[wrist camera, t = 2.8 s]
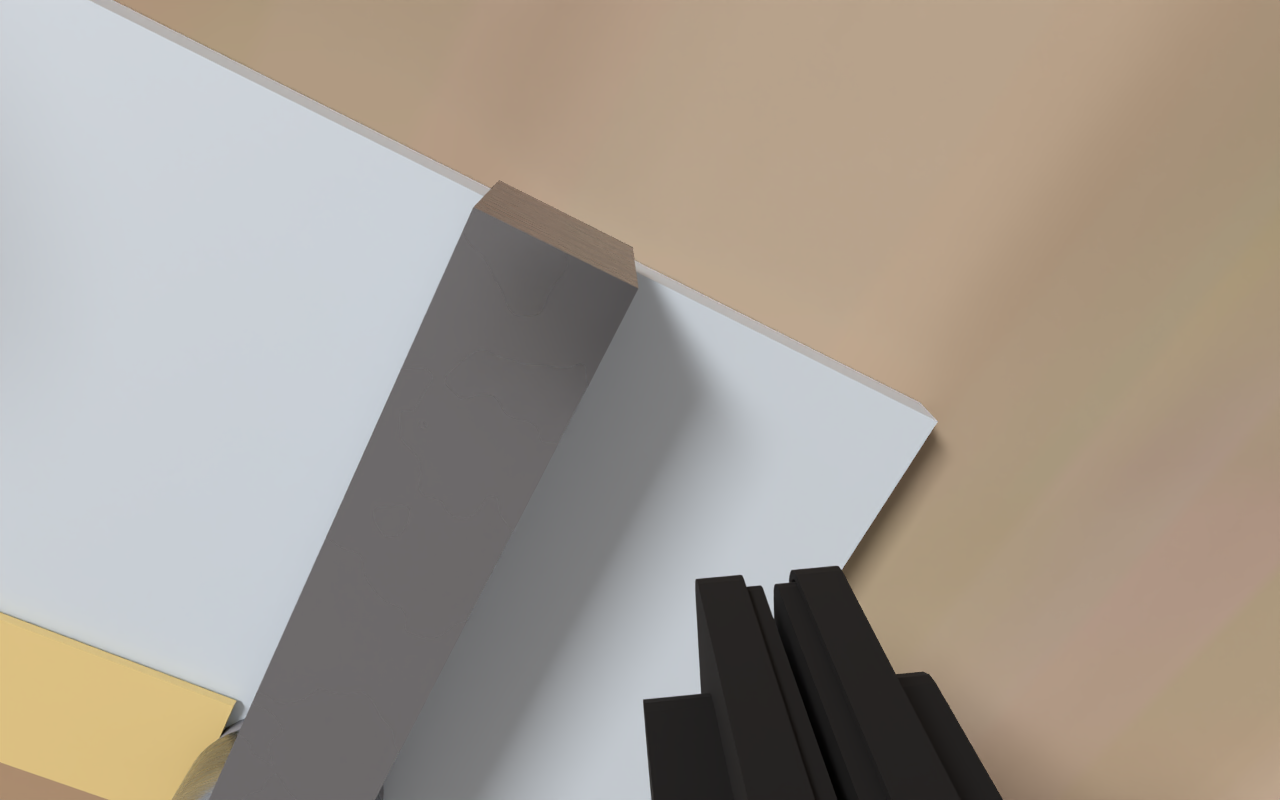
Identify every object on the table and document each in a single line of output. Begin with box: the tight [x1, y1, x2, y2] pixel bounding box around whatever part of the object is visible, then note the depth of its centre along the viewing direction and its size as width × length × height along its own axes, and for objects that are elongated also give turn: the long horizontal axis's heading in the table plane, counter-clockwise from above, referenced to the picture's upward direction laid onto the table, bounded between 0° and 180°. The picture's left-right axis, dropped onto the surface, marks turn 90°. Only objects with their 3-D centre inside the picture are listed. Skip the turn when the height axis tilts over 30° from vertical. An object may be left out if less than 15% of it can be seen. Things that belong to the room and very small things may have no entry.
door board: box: [0, 0, 938, 800], centre depth 20 cm, size 26×20×4 cm
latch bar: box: [172, 180, 639, 800], centre depth 18 cm, size 18×5×5 cm, turn 153°
